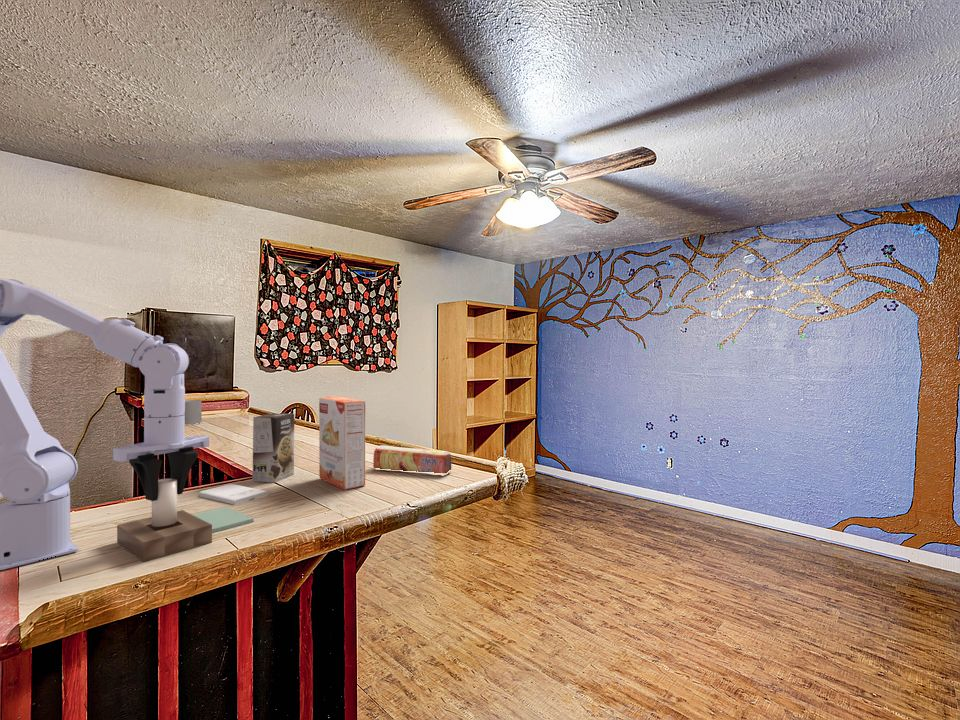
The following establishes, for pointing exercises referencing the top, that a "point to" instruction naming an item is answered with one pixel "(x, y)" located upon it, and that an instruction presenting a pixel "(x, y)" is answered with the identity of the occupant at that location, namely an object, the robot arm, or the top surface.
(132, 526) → the brown socket block
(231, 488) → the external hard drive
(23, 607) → the top surface
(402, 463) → the snack package
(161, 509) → the plug
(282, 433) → the coffee box
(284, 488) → the top surface
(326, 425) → the cracker box
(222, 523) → the mat
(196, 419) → the coffee mug
